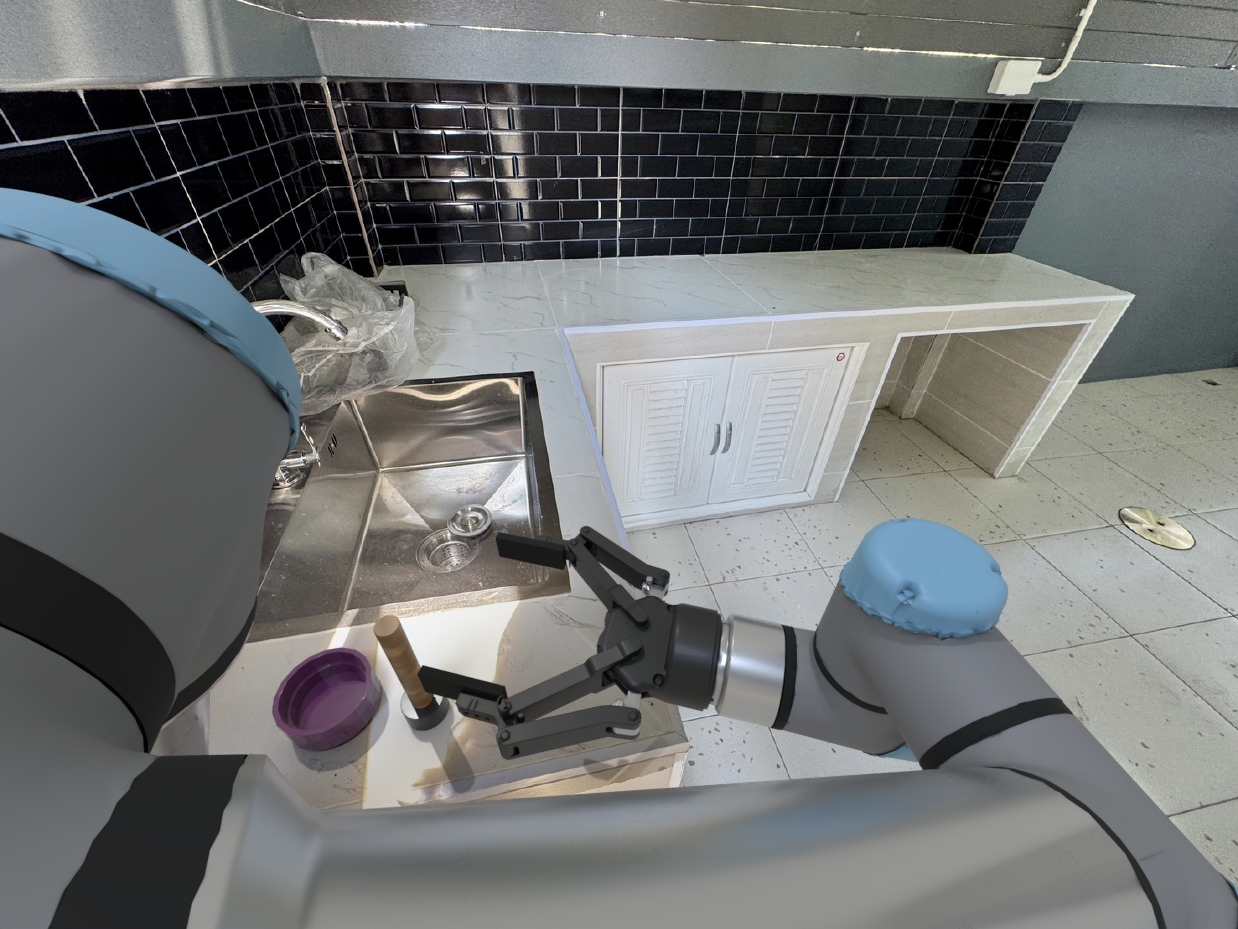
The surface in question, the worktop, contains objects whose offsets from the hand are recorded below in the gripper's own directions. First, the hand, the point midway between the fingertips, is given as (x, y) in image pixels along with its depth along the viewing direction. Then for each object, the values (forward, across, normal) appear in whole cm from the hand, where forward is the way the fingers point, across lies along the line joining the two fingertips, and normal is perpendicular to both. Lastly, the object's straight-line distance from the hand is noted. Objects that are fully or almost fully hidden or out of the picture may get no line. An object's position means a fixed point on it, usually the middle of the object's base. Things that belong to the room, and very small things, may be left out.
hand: (465, 603), depth 43 cm
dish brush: (+10, 0, -25) cm, 27 cm away
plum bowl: (+20, -2, -25) cm, 32 cm away
